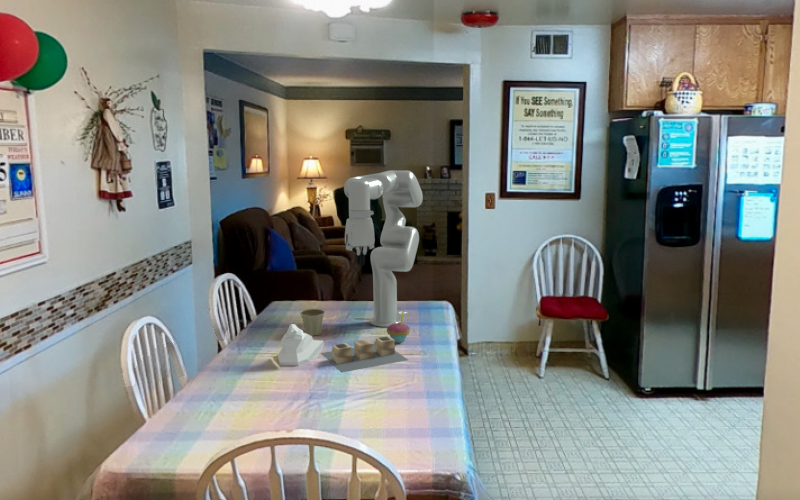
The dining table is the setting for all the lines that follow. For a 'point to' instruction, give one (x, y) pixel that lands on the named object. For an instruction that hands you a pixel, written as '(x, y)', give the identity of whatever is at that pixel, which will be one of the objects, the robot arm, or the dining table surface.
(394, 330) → the cupcake
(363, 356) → the plain block
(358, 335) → the dining table surface
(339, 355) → the digit block
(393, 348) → the digit block
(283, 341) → the white faceted lump
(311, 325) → the flower pot
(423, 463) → the dining table surface
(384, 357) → the mat
